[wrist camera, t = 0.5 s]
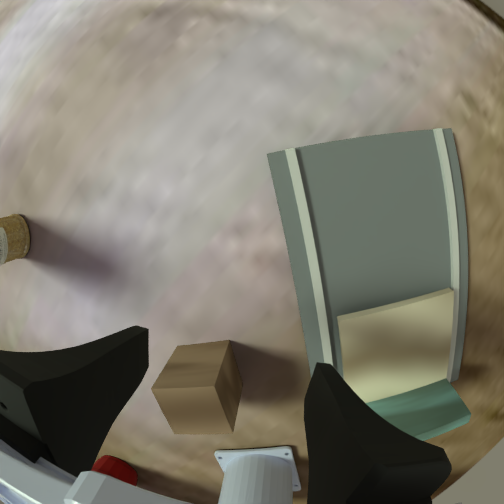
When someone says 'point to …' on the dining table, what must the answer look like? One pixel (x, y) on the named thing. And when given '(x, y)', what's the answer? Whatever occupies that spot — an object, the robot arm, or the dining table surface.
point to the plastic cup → (116, 469)
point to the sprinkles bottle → (13, 238)
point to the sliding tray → (404, 363)
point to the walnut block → (200, 389)
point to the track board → (372, 230)
